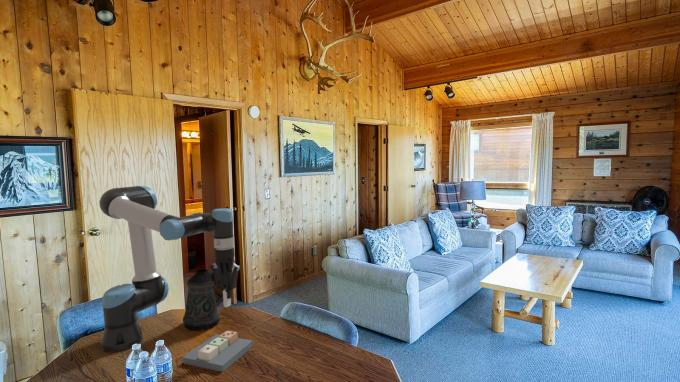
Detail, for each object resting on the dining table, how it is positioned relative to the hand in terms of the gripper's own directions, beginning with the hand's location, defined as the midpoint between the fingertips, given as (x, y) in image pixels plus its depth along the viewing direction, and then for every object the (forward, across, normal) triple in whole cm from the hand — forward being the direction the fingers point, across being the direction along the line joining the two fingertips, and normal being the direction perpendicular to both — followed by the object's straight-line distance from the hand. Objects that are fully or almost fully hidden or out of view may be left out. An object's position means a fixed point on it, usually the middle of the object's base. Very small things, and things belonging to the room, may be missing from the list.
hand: (227, 305), depth 147 cm
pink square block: (+15, 0, 0) cm, 15 cm away
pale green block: (+15, 0, -6) cm, 16 cm away
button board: (+17, 0, -6) cm, 18 cm away
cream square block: (+15, 0, -12) cm, 19 cm away
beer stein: (+17, -25, +16) cm, 34 cm away
